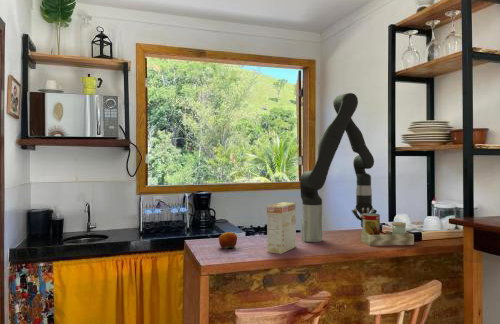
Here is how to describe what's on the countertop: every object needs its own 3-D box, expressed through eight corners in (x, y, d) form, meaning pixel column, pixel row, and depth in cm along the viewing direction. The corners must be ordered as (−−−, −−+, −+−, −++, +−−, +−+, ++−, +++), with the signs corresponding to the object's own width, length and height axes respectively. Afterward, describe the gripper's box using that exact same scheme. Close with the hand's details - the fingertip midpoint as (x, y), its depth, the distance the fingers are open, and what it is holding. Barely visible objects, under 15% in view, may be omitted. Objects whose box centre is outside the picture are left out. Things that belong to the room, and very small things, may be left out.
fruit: (225, 248, 155) (221, 230, 158) (219, 254, 161) (215, 237, 164) (242, 246, 158) (238, 228, 162) (235, 252, 164) (231, 235, 168)
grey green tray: (369, 245, 164) (369, 235, 164) (361, 240, 174) (361, 231, 174) (413, 244, 165) (413, 234, 165) (403, 240, 175) (403, 230, 175)
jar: (395, 243, 167) (395, 224, 167) (390, 241, 173) (390, 222, 173) (408, 243, 167) (408, 223, 167) (402, 241, 173) (402, 221, 173)
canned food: (382, 240, 174) (382, 215, 174) (365, 240, 174) (365, 215, 174) (376, 237, 182) (376, 213, 182) (360, 237, 182) (360, 213, 182)
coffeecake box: (282, 245, 166) (281, 201, 166) (296, 246, 162) (296, 202, 163) (266, 252, 153) (266, 205, 153) (281, 254, 150) (281, 206, 150)
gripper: (353, 195, 184) (353, 229, 184) (379, 194, 184) (379, 229, 184) (348, 193, 191) (349, 227, 191) (373, 193, 192) (374, 226, 192)
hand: (364, 228), depth 188 cm, fingers closed
